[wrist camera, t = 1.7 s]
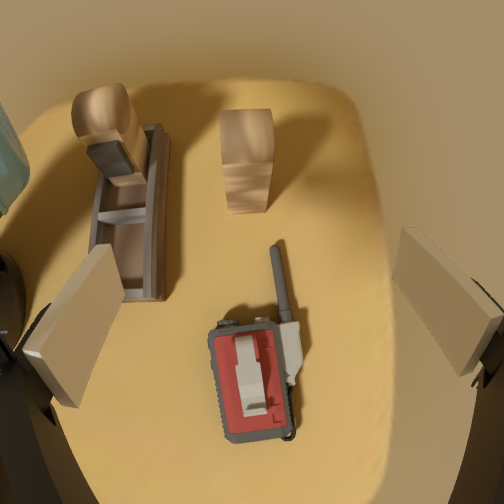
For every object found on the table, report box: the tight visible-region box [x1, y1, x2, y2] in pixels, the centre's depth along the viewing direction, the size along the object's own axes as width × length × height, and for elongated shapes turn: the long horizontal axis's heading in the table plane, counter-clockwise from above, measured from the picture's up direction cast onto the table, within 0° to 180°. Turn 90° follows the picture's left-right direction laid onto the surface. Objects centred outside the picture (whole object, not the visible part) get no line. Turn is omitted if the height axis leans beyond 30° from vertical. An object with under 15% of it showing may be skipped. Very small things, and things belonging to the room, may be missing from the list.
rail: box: [71, 83, 171, 303], centre depth 25 cm, size 8×20×14 cm, turn 4°
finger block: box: [220, 109, 274, 215], centre depth 27 cm, size 4×6×12 cm
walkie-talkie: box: [207, 245, 304, 444], centre depth 27 cm, size 9×4×20 cm
